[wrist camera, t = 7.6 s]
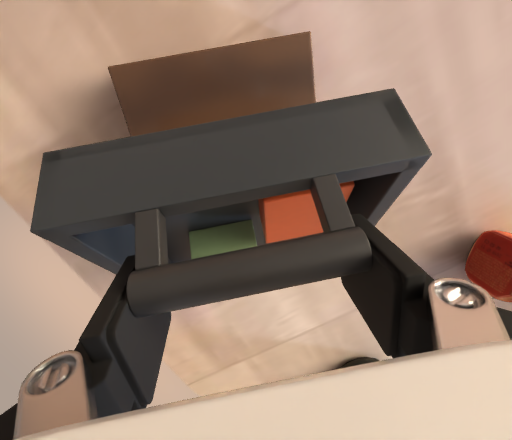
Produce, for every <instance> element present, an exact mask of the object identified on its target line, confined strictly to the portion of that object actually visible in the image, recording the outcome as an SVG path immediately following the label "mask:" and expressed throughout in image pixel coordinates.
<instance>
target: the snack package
mask: <svg viewBox="0 0 512 440" xmlns="http://www.w3.org/2000/svg"><path fill="white" fill-rule="evenodd" d="M465 271H466V274H467V276H468V278H469V279H470V281H472V282H473V283H474V284H476V285H478V286H480V287H482V288H483V289H484V290H486V291H487V292H488V293H489V295H491V296H492V297H494V298H495V299H498V300H501V301H505V302H512V233H507V232H503V231H496V230H491V231H486V232H484V233H482V234H481V235H480V237H479V238H478V239H477V240H476V242H475V243H474V245H473V247H472V249H471V251H470V253H469V255H468V258H467V261H466V266H465Z"/></svg>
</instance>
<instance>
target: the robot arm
mask: <svg viewBox="0 0 512 440" xmlns="http://www.w3.org/2000/svg"><path fill="white" fill-rule="evenodd" d="M351 216H352V219H353V222H354V224H355V227H360V228H361V229H362V230H363V231H364V233H365V234H366V236H367V238H368V241H369V243H370V247H371V251H372V267H371V269H370V270H369V271H366V272H361V273H356V274H351V275H346V276H341V280H342V283H343V286H344V288H345V289H346V291H347V292H348V294H349V296H350V297H351V299H352V301H353V302H354V304H355V305H356V307H357V309H358V310H359V312H360V314H361V315H362V317H363V319H364V320H365V322H366V323H367V325H368V327H369V328H370V330H371V332H372V333H373V335H374V337H375V338H376V340H377V341H378V343H379V345H380V346H381V348H382V350H383V351H384V353H385V354H386V355H387V356H392V357H393V358H392V359H387V360H382V361H377V362H372V363H367V364H362V365H356V366H351V367H346V368H341V369H336V370H331V371H326V372H321V373H316V374H311V375H306V376H301V377H296V378H291V379H286V380H281V381H276V382H271V383H266V384H261V385H256V386H251V387H246V388H241V389H236V390H231V391H226V392H221V393H216V394H211V395H206V396H202V397H197V398H192V399H187V400H182V401H177V402H173V403H168V404H163V405H158V406H154V407H149V408H146V406H147V404H150V403H151V402H152V399H153V395H154V391H155V386H156V382H157V378H158V374H159V369H160V365H161V360H162V356H163V352H164V347H165V343H166V339H167V334H168V330H169V326H170V321H171V312H166V313H161V314H156V315H151V316H146V317H142V318H138V317H136V316H134V314H133V313H132V311H131V309H130V307H129V304H128V299H127V281H128V277H129V275H130V274H131V272H133V271H135V255H131V256H127V258H126V259H125V261H124V263H123V264H122V266H121V268H120V270H119V271H118V273H117V275H116V276H115V278H114V280H113V282H112V283H111V285H110V287H109V289H108V290H107V292H106V294H105V295H104V297H103V299H102V301H101V302H100V304H99V306H98V308H97V309H96V311H95V313H94V314H93V316H92V318H91V320H90V321H89V323H88V325H87V327H86V328H85V330H84V332H83V333H82V335H81V337H80V339H79V343H78V345H77V346H76V348H75V350H74V351H73V350H69V351H64V352H60V353H58V354H55V355H53V356H51V357H50V358H48V359H46V360H44V361H43V362H42V363H40V364H39V365H38V366H36V367H35V368H34V369H33V370H32V371H31V372H30V373H29V374H28V375H27V377H26V378H25V380H24V381H23V383H22V385H21V388H20V391H19V398H18V403H17V404H15V405H14V406H13V407H11V408H10V409H8V410H7V411H6V412H4V413H3V414H2V415H0V440H512V311H508V310H505V309H501V308H497V307H496V306H495V304H494V302H493V299H492V297H491V296H490V295H489V293H488V292H487V291H486V290H484V289H483V288H482V287H480V286H478V285H476V284H474V283H472V282H469V281H466V280H463V279H457V278H441V279H437V280H434V279H433V278H432V277H431V276H430V275H428V274H427V273H426V272H425V271H424V270H423V269H422V268H421V267H420V266H418V265H417V264H416V263H415V262H414V261H413V260H412V259H411V258H410V257H408V256H407V255H406V254H405V253H404V252H403V251H402V250H401V249H400V248H398V247H397V246H396V245H395V244H394V243H392V242H391V241H390V240H389V239H388V238H387V237H386V236H385V235H384V234H382V233H381V232H380V231H379V230H378V229H377V228H376V227H375V226H374V225H372V224H371V223H370V222H369V221H368V220H367V219H366V218H365V217H364V216H362V215H361V214H360V213H359V214H354V215H351Z"/></svg>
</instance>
